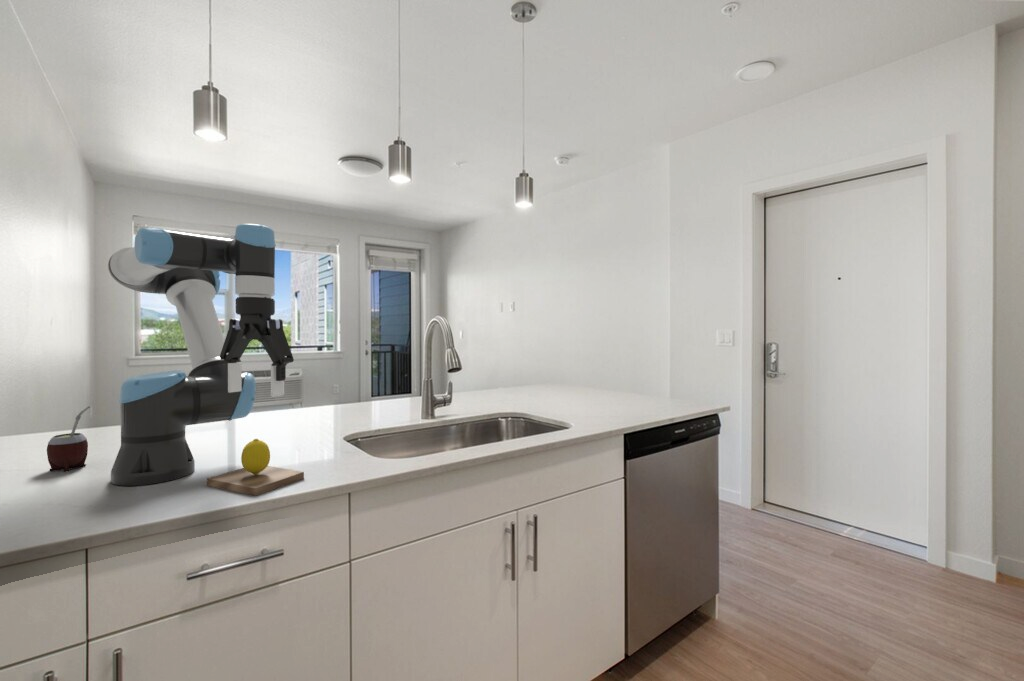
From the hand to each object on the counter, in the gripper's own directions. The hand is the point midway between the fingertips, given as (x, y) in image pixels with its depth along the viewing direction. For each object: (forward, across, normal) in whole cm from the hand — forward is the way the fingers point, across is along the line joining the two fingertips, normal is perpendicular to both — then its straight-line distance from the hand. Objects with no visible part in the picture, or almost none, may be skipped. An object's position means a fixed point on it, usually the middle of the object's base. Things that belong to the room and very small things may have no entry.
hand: (255, 394), depth 102 cm
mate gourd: (+20, +48, +12) cm, 54 cm away
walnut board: (+19, -1, 0) cm, 19 cm away
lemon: (+18, -1, 0) cm, 18 cm away
